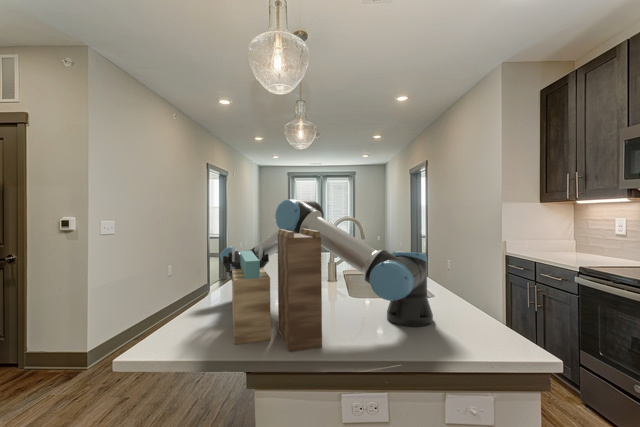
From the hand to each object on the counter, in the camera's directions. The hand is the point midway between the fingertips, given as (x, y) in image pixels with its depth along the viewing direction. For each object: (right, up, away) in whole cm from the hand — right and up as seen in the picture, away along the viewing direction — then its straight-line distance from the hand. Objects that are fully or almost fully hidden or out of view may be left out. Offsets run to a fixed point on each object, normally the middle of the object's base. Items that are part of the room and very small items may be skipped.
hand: (247, 249), depth 108 cm
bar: (+1, -6, -4) cm, 7 cm away
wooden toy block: (+3, -24, -8) cm, 26 cm away
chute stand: (+18, -24, -13) cm, 33 cm away
